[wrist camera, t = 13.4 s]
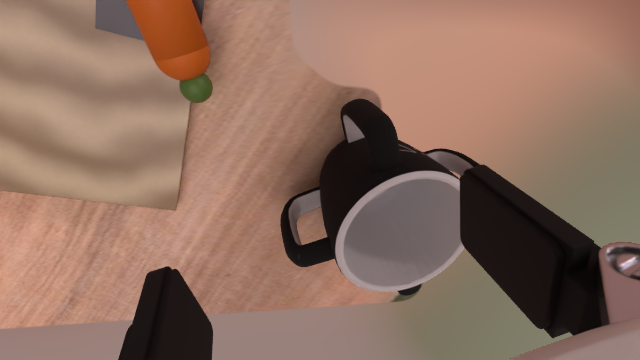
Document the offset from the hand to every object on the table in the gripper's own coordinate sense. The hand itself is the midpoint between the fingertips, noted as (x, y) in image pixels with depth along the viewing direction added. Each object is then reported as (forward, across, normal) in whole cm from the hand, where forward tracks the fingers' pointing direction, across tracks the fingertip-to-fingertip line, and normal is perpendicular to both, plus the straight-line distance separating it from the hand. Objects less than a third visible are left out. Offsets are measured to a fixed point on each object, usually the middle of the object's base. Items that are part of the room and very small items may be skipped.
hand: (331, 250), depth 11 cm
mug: (+24, -7, +12) cm, 27 cm away
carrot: (+22, +5, -9) cm, 24 cm away
